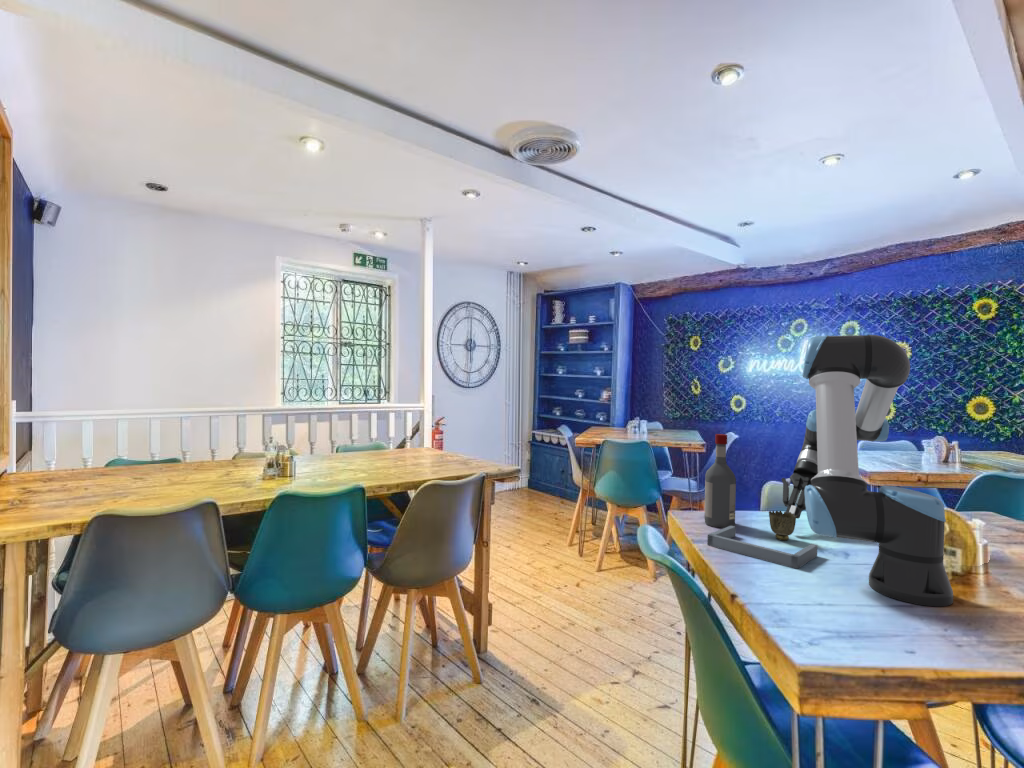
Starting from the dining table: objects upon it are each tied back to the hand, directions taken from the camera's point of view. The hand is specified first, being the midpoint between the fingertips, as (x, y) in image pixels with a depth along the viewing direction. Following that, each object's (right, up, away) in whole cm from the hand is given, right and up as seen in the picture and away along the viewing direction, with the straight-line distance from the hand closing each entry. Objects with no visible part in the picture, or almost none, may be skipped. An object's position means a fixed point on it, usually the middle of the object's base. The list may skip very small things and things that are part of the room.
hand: (789, 525), depth 158 cm
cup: (-5, -3, -5) cm, 8 cm away
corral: (-16, -3, -15) cm, 22 cm away
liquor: (-17, -3, +11) cm, 21 cm away
